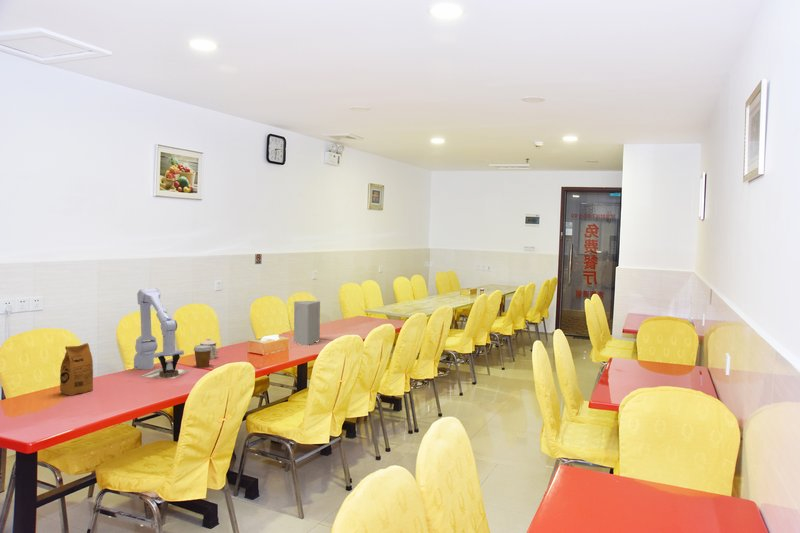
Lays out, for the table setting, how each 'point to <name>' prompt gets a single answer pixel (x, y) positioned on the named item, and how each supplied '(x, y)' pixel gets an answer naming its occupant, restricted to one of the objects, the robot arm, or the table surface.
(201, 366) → the disposable coffee cup
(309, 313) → the grey block
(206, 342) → the teacup with lid
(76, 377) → the coffee package
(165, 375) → the ring collar
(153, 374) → the plate
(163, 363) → the robot arm
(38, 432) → the table surface
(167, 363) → the piston
